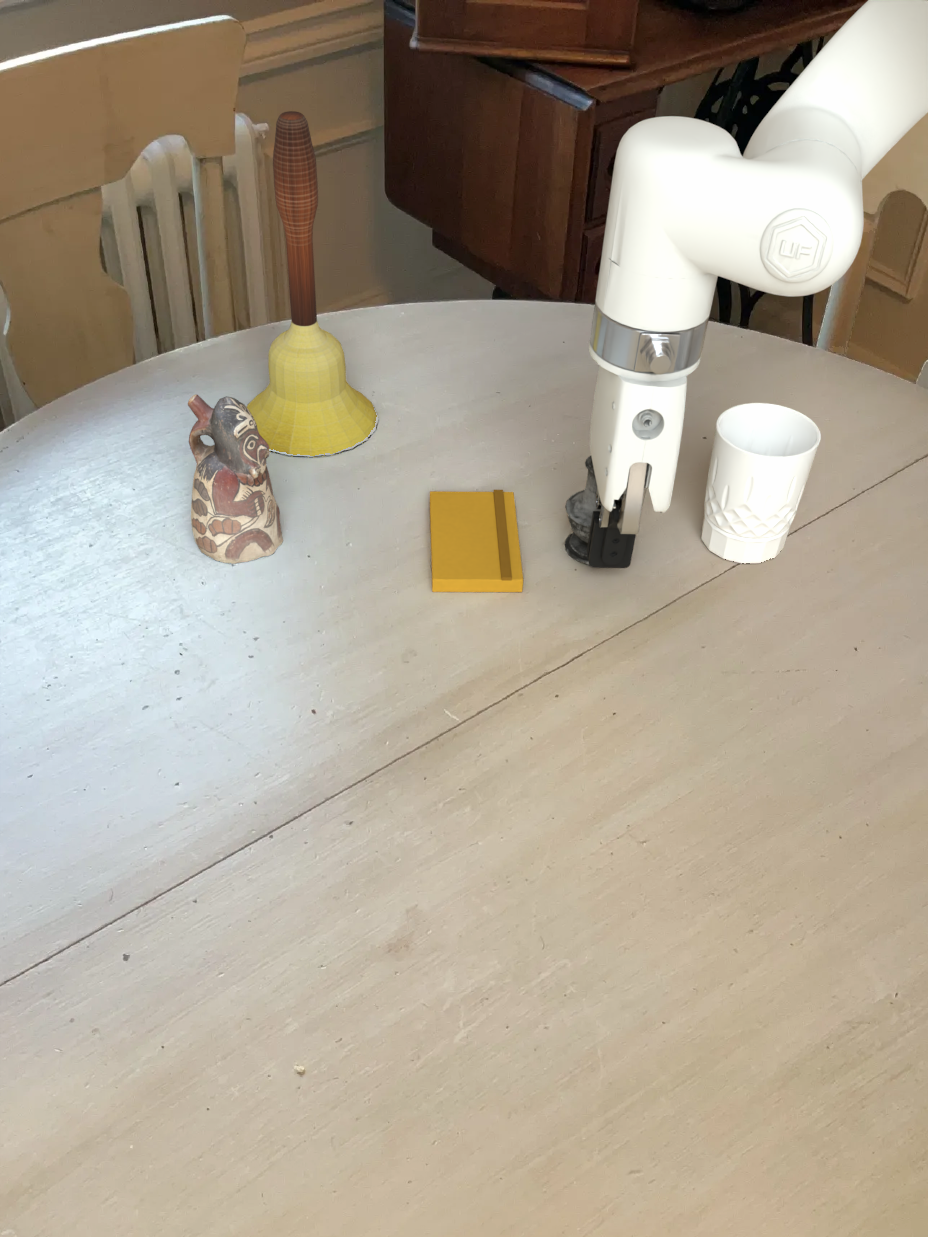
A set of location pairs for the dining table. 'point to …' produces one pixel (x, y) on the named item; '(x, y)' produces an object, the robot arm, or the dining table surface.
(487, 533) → the yellow strapped notebook
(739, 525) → the white cup
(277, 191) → the handbell
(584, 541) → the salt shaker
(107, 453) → the dining table surface
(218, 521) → the figurine
